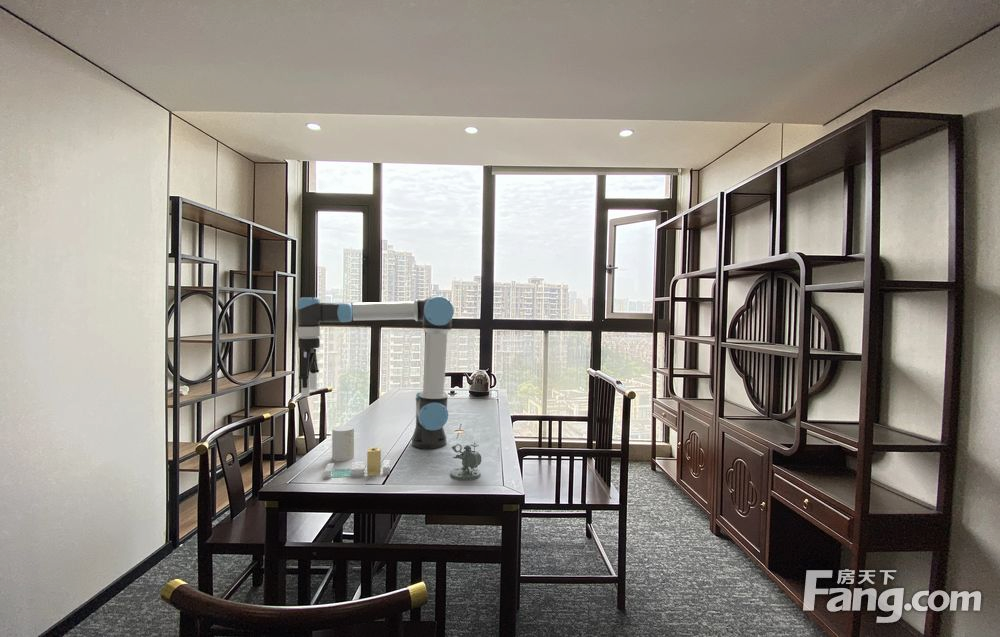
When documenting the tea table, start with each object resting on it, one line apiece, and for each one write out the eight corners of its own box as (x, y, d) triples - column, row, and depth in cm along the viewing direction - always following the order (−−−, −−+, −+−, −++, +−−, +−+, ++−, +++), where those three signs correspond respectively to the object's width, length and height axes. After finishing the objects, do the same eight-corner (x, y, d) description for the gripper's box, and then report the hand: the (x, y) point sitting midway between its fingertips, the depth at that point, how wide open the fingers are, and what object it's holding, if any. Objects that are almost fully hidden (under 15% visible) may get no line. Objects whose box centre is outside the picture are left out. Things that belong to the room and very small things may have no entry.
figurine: (462, 467, 169) (462, 436, 169) (486, 473, 164) (486, 440, 163) (444, 476, 160) (445, 443, 160) (469, 483, 155) (470, 448, 154)
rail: (390, 467, 169) (390, 459, 169) (389, 475, 161) (389, 467, 161) (327, 471, 164) (327, 463, 164) (324, 479, 156) (324, 471, 156)
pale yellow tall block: (380, 468, 166) (380, 446, 166) (380, 473, 162) (380, 450, 162) (368, 469, 165) (368, 447, 165) (367, 473, 161) (367, 451, 161)
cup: (347, 462, 173) (347, 431, 173) (328, 460, 175) (328, 430, 175) (357, 455, 181) (357, 426, 181) (339, 454, 183) (339, 424, 183)
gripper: (305, 335, 184) (306, 387, 185) (290, 340, 160) (290, 399, 160) (325, 335, 186) (325, 386, 186) (312, 340, 161) (313, 398, 162)
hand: (309, 392), depth 173 cm, fingers open, 13 cm apart
